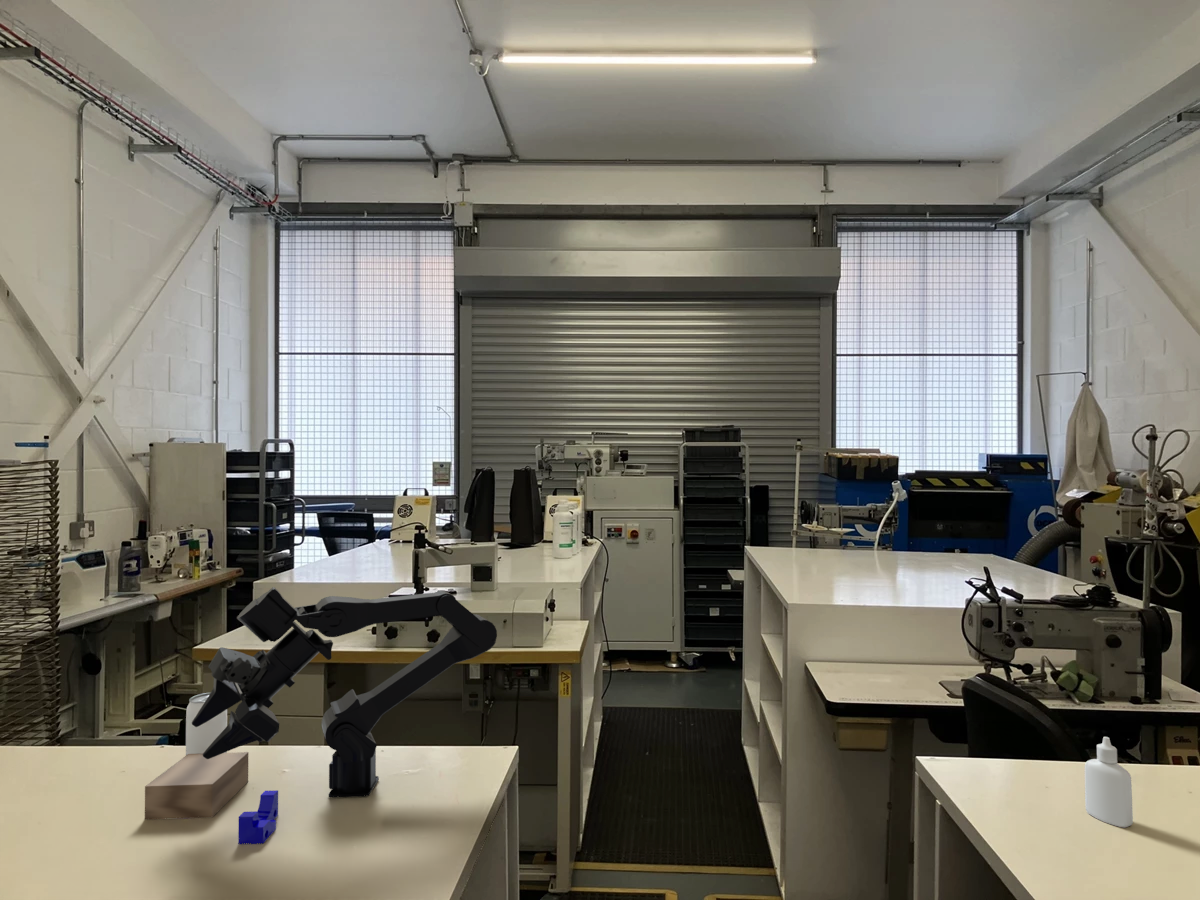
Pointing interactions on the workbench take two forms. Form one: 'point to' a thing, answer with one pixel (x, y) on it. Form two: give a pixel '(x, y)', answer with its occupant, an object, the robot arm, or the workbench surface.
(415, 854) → the workbench surface
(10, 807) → the workbench surface
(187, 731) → the can
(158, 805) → the plate
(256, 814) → the cable holder
